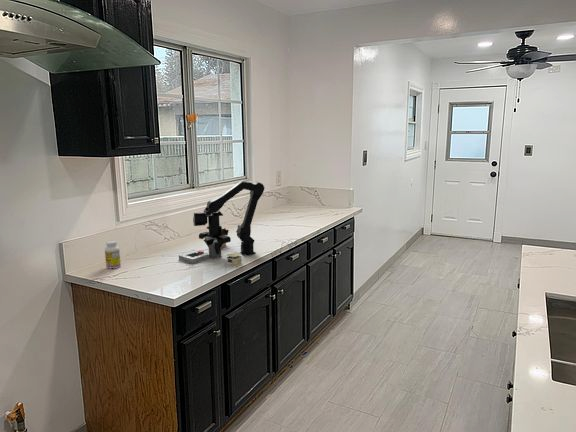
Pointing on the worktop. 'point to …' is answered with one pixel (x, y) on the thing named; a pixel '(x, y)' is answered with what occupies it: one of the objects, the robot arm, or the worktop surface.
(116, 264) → the supplement bottle
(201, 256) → the socket plate
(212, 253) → the plug
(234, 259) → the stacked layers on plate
